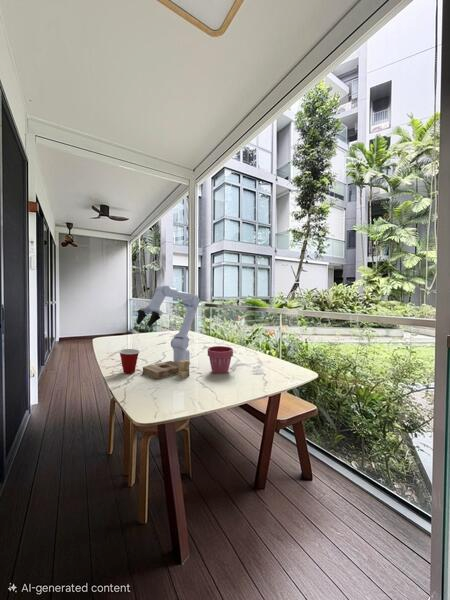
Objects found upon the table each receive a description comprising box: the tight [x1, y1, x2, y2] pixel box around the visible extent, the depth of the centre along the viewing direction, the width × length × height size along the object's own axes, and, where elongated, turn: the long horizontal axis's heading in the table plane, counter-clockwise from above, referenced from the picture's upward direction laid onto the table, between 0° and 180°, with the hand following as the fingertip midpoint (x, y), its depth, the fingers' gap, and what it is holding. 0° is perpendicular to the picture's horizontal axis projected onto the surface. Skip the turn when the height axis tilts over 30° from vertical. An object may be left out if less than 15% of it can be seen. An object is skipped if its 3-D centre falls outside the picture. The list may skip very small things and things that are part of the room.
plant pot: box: [207, 345, 234, 375], centre depth 146 cm, size 14×14×13 cm
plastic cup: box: [118, 348, 141, 375], centre depth 144 cm, size 11×11×12 cm
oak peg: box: [178, 360, 190, 379], centre depth 138 cm, size 4×4×8 cm
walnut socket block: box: [142, 360, 179, 380], centre depth 144 cm, size 18×14×4 cm
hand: (143, 324), depth 136 cm, fingers open, 7 cm apart
